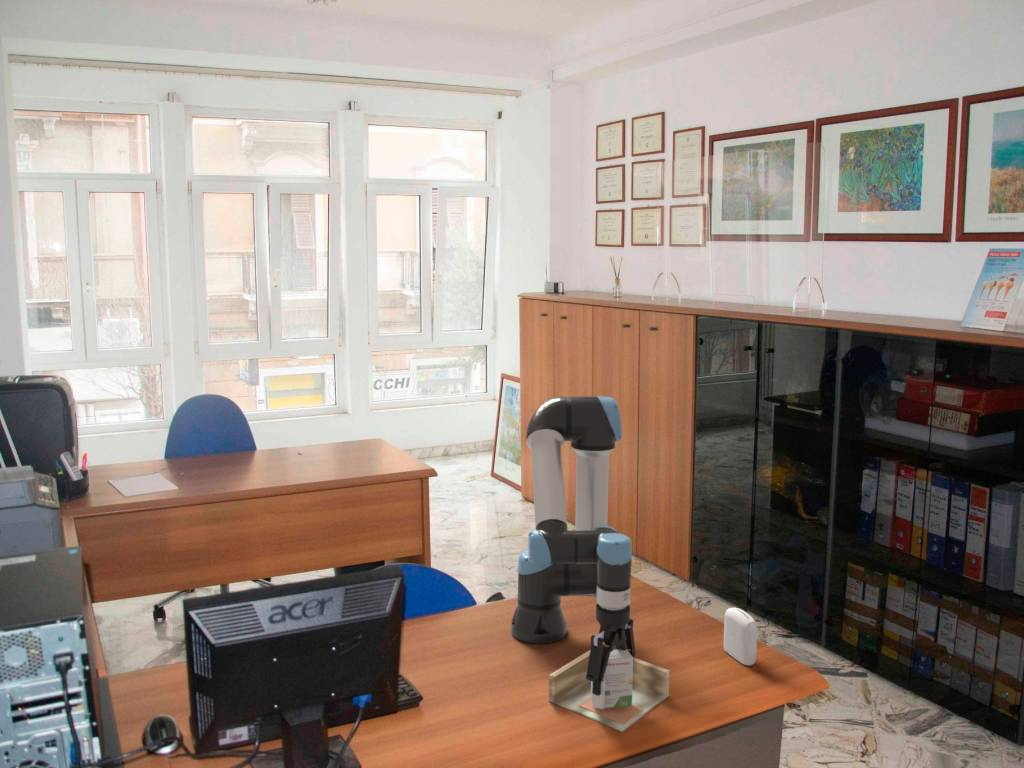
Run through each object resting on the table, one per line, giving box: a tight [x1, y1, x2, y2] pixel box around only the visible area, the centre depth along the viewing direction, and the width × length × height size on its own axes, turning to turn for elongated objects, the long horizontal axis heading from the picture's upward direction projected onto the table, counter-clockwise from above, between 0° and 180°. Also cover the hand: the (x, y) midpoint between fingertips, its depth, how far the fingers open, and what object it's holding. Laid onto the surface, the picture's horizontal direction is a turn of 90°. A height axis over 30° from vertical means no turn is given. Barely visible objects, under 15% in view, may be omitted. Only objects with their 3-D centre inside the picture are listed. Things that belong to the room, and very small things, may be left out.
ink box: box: [591, 648, 633, 709], centre depth 197 cm, size 8×5×12 cm, turn 100°
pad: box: [579, 697, 643, 725], centre depth 198 cm, size 12×8×1 cm, turn 50°
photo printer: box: [723, 607, 758, 666], centre depth 223 cm, size 10×4×12 cm, turn 20°
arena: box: [548, 649, 670, 733], centre depth 202 cm, size 20×20×6 cm
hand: (610, 697), depth 197 cm, fingers closed on ink box, 9 cm apart
